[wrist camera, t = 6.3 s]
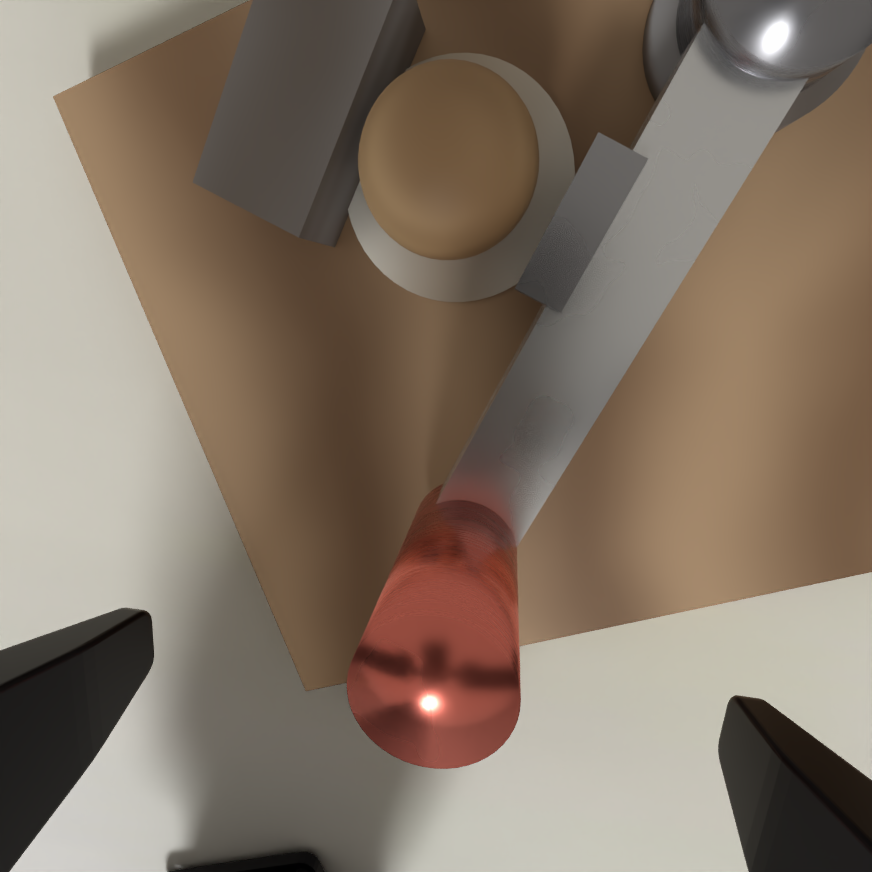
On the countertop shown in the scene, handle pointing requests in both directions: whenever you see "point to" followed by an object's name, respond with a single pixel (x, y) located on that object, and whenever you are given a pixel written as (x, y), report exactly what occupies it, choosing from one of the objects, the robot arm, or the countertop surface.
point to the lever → (577, 366)
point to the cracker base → (485, 314)
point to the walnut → (448, 159)
